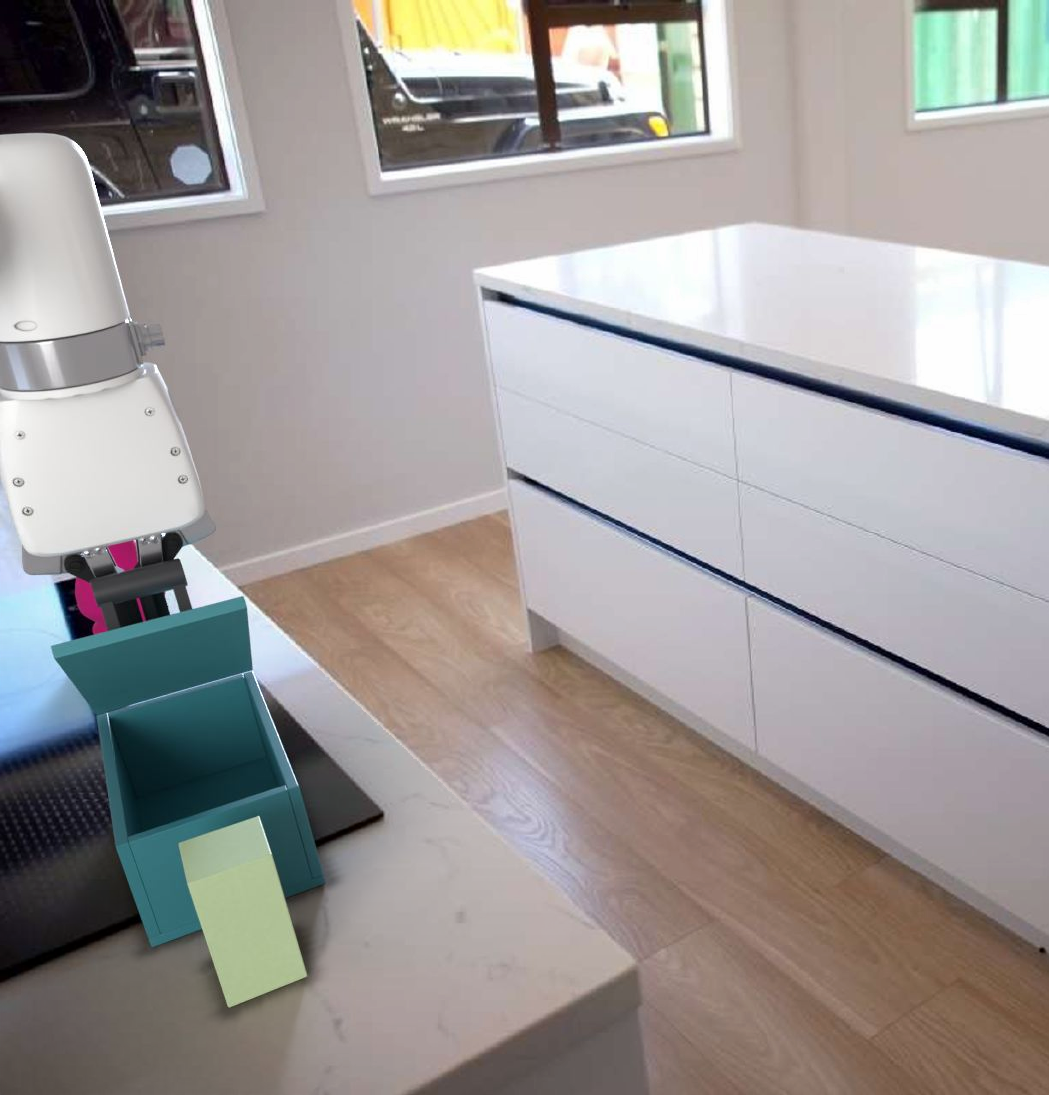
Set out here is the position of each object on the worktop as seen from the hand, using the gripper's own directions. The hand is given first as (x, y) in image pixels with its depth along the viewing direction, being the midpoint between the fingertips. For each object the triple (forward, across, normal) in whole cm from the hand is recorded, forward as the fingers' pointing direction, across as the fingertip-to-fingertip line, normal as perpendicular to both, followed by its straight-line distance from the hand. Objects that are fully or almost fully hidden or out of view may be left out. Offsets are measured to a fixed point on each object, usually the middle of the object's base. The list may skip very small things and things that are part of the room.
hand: (148, 636), depth 80 cm
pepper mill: (+16, +1, -38) cm, 42 cm away
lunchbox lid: (+3, 0, -1) cm, 3 cm away
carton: (+16, -1, +16) cm, 22 cm away
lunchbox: (+16, -1, +1) cm, 16 cm away
